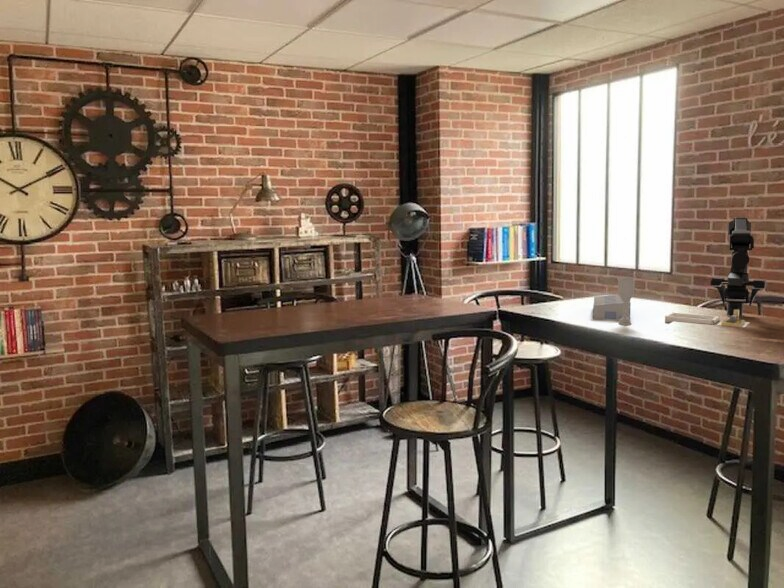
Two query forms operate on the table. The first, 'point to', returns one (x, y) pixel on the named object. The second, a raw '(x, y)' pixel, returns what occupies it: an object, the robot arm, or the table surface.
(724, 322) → the tan notched block
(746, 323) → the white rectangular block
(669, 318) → the tray
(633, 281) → the chalice
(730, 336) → the table surface
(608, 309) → the warehouse
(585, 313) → the table surface
